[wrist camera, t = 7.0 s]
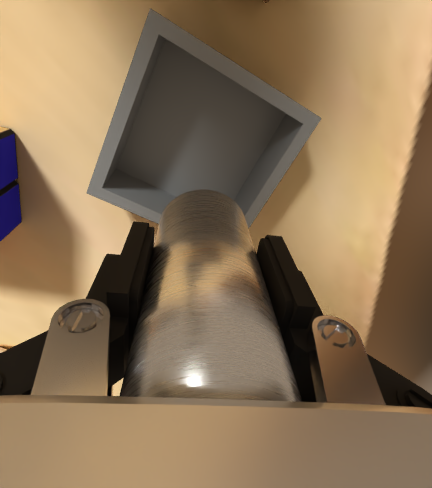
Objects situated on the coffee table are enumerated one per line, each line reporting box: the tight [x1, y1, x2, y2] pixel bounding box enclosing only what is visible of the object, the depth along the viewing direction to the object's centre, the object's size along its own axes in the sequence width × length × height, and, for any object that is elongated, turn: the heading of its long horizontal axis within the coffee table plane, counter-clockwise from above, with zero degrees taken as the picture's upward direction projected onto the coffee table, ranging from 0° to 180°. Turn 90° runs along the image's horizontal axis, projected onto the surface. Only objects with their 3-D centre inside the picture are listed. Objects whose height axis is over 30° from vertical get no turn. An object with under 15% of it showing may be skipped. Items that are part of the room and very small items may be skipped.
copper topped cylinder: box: [120, 189, 302, 402], centre depth 9 cm, size 4×4×11 cm
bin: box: [87, 8, 321, 229], centre depth 27 cm, size 14×14×6 cm
